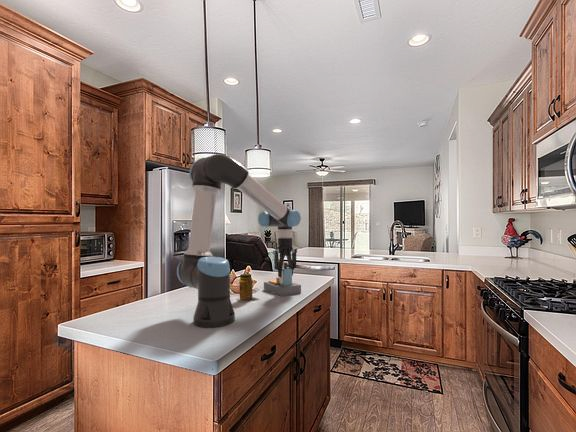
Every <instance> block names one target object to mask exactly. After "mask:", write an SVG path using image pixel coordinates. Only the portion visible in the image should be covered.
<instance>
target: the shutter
mask: <svg viewBox="0 0 576 432" xmlns="http://www.w3.org/2000/svg"><path fill="white" fill-rule="evenodd" d="M268 282H271V283H274V284H280V282H279V277H278V276H277V277H275V279H272V280H271V279H270V280H268Z"/></svg>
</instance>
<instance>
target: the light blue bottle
mask: <svg viewBox="0 0 576 432" xmlns="http://www.w3.org/2000/svg"><path fill="white" fill-rule="evenodd" d="M282 271H283V284H281V283H280V285H281V286H291V285H292V282H293V276H292V269H291V268H289V267H288V262H283V267H282Z"/></svg>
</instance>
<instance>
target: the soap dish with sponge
mask: <svg viewBox="0 0 576 432" xmlns="http://www.w3.org/2000/svg"><path fill="white" fill-rule="evenodd" d="M263 291H267V292H269V293H272V294H274V295H277V296H280V297H283V296H291V295H295V294H301V293H302V284H298V283H295V282H293V281H292V285H291V286H281V285H280V284H274V283H271V282H269V281H263Z"/></svg>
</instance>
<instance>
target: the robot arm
mask: <svg viewBox="0 0 576 432" xmlns="http://www.w3.org/2000/svg"><path fill="white" fill-rule="evenodd" d="M189 178H190V179H191V181H192V185H191V186H192V187H191V188H192V189H193V190H194V193H195V194H194V201H193V209H192V216H191V223H190V224H191V225H190V232H189V241H188V248H187V250H185V251H184V252H183V255H182V256H183V257H182V260H181V261H180V262H179V263H178V265H177V266H176V276H177V278H178V281H180V283H181V284H183V285H184V286H185V287H188V288H193V289H197V304H196V307H195V311H194V313H193V320H192V321H193V322H192V323H193V324H194V326H196V327H199V328H200V327H201V328H217V327H224V326H227V325H230V324H233V323H234V322H235V319H236V314H235V310H234V307H233V305H232V301H231V281H230V280H231V278H230V277H231V275H230V274H231V268H230V267H231V266H230V262H229V260H228V259H226V258H225V257H220V256H214V255H213V253H212V252H211V243H212V236H213V235H212V234H213V225H214V219H215V209H216V201H217V194H219V193H220V192H221V188H222V184H225V185H228V186H229V187H231V188H232V189H234V190H238V191H239V192H241V193H242V194H244V196H246V197H247V198H249V199H250V200H251V201H253V202H254V203H255V204H256V205H257V206H259V207H260V208H261V209H262V210H264V211H261V212H259V214H258V215H257V222H258V224H259V227H260V226H261V227H264V228H265V227H266V228H268V227H269V228H270V227H271V228H272V227H273V228H274V227H276V228H277V237H278V238H277V245H278V246H277V249H274V250H273V251H272V252H273V259H274V265H273V266H274V267H273V268H274V270H276V271H277V275H278V276H277V277H279V282H280V283H281V284H283V271H282V268H284V261H285V257H286V260H287V261H286V262H287V266H288V268H291V269H292V277H293V276H294V270H295V269H296V268H297V253H298V249H297V248H296V249H295V248H293V238H292V237H293V227H297V226H299V225H300V223H301V219H302V216H301V214H300V211H298V210H296V209H295V210H294V209H292V207H287V206H286V205H285V204H284V203H283V202H282V201H280V200H279V199H278V198H277V197H276V196H275V195H273V194H272V193H271V192H270V191H269V190H268V189H266V188H265V187H264V186H263V185H262V184H261V183H260V182H258V181H257V180H256V179H255V178H254V177H253V176H252V175H250V172H249V170H248V169H247V168H246V167H245V166H244V165H242V163H240V162H238V161H237V160H236V159H234V158H232V157H230V156H229V155H225V154H223V153H216V154H212V155H209V156H206V157H201V158H198V159H197V160H196V161H195V162H193V163H192V165H191V166H190V168H189Z"/></svg>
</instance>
